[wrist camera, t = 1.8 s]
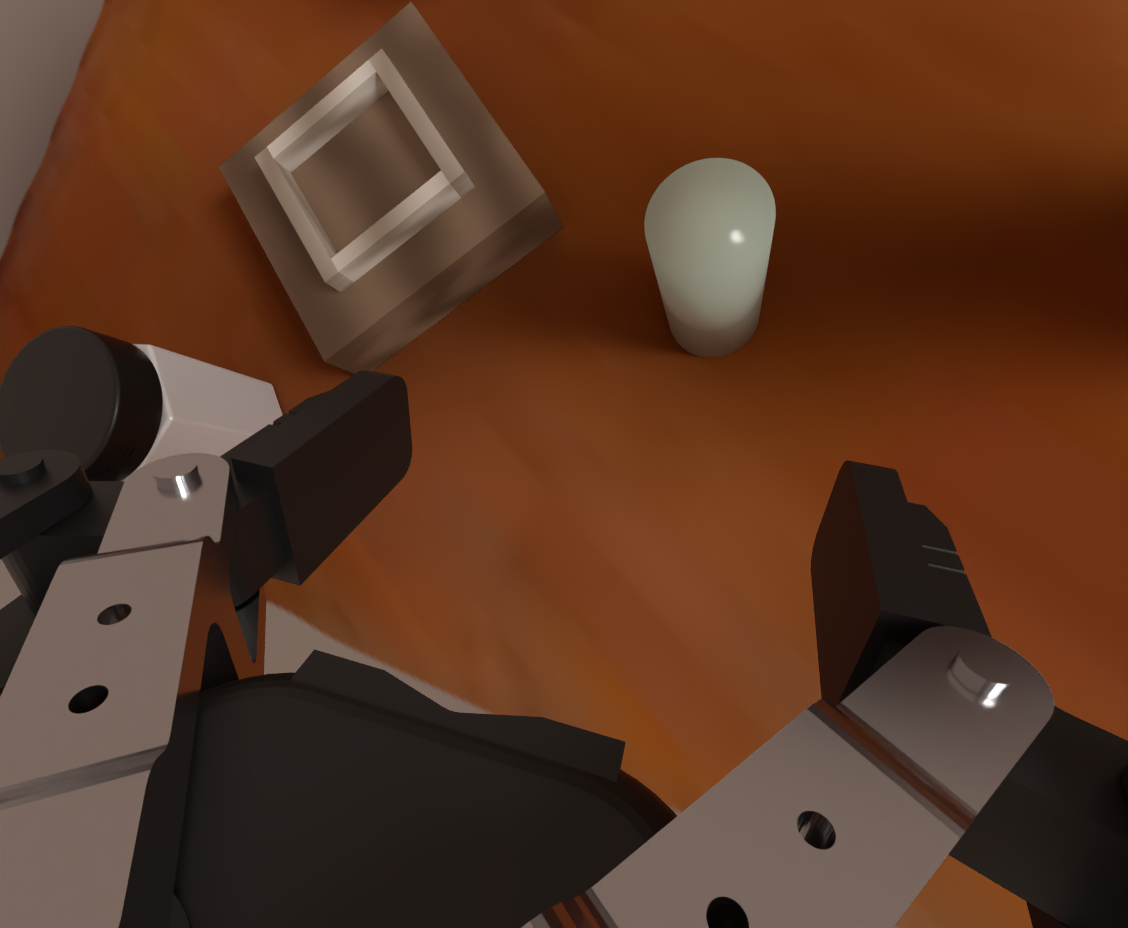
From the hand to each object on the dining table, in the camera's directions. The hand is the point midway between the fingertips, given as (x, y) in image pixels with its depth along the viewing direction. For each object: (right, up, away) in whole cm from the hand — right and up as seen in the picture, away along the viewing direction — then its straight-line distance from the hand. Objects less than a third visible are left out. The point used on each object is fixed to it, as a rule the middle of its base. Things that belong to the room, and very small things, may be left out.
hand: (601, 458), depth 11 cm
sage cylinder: (+8, +8, +23) cm, 26 cm away
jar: (-23, +2, +31) cm, 38 cm away
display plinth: (-11, +17, +29) cm, 35 cm away
